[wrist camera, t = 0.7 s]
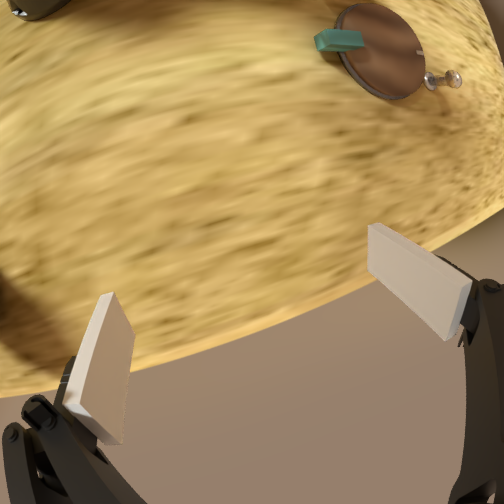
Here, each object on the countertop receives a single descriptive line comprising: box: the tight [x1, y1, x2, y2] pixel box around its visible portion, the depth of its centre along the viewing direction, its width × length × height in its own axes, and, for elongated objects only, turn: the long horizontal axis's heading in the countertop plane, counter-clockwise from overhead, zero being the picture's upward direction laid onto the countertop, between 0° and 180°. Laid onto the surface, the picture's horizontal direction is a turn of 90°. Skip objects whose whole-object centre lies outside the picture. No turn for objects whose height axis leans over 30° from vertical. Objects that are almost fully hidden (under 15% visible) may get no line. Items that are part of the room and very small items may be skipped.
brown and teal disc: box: [314, 4, 425, 96], centre depth 29 cm, size 17×22×4 cm
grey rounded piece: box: [423, 70, 462, 90], centre depth 32 cm, size 4×4×9 cm
